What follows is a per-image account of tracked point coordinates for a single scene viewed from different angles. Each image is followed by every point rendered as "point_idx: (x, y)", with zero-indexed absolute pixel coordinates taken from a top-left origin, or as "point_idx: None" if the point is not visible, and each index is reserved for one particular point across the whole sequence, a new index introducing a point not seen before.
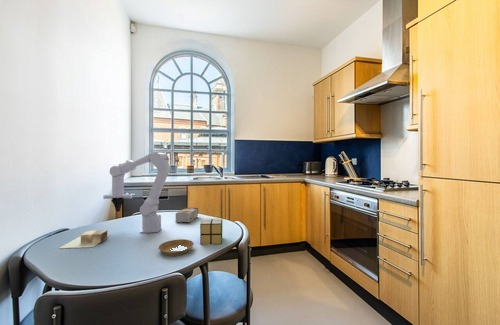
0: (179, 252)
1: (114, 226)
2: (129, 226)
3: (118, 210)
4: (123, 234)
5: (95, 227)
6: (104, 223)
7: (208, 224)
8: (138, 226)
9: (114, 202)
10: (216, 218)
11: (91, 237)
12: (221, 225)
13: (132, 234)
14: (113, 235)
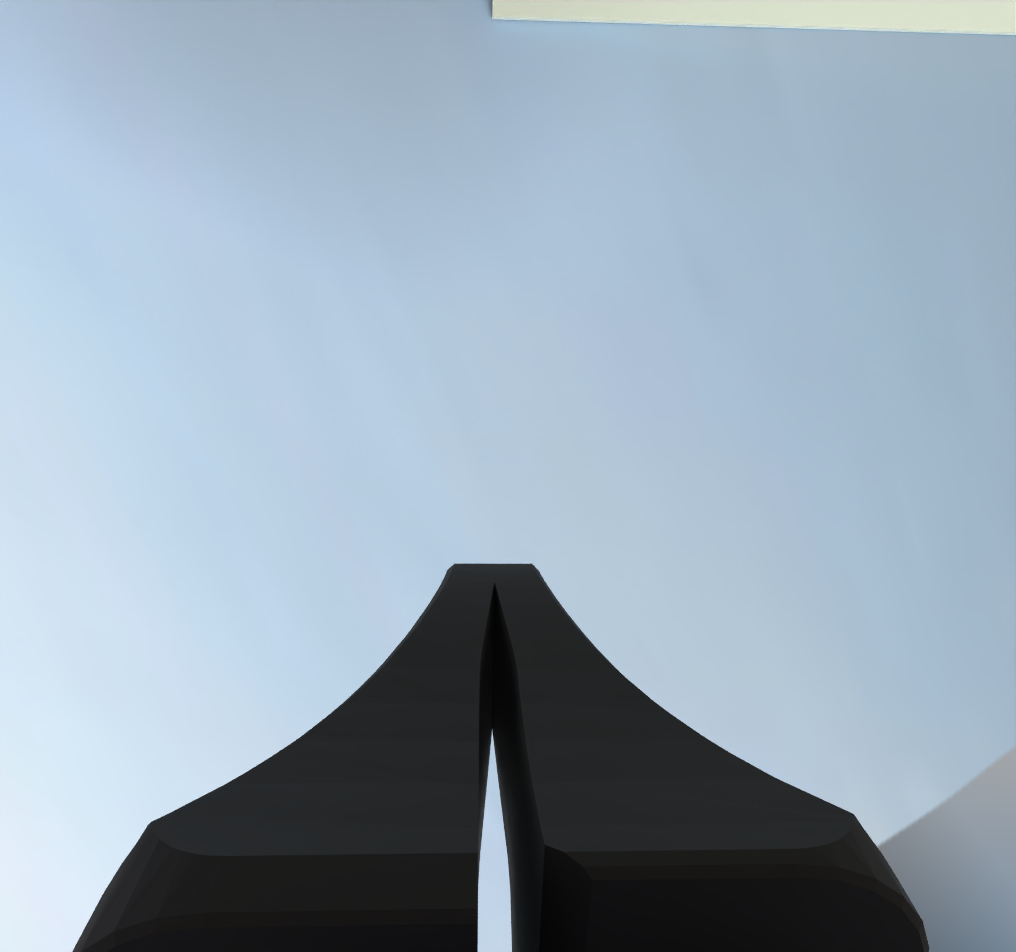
0: None
1: (632, 613)
2: (362, 586)
3: (448, 578)
4: (231, 60)
5: (935, 591)
6: (853, 781)
7: None
8: (193, 570)
9: (629, 768)
10: None
11: None
12: None
13: (26, 28)
14: (416, 14)
